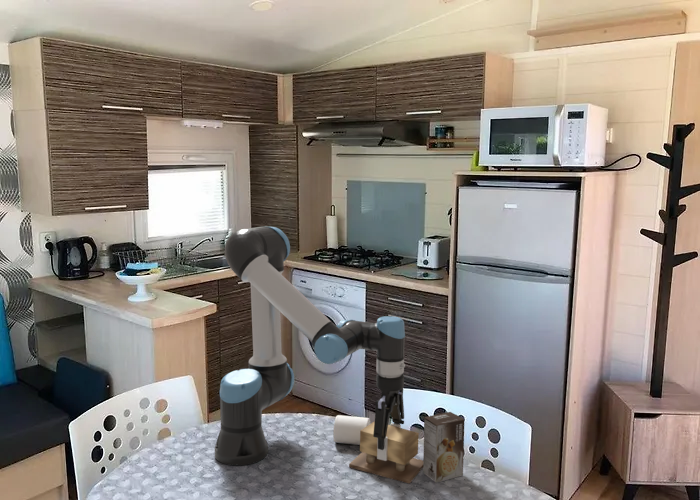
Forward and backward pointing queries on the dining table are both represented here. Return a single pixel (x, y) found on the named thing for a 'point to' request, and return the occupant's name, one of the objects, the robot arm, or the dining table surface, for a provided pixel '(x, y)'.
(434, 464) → the coffee box
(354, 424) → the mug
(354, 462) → the peg stand
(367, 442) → the wooden block
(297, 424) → the dining table surface
